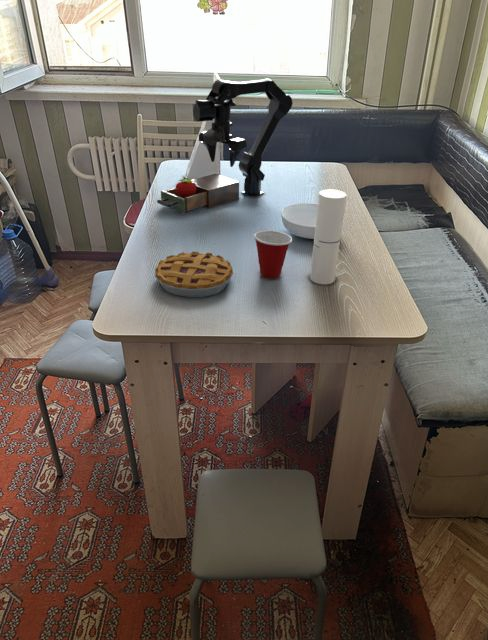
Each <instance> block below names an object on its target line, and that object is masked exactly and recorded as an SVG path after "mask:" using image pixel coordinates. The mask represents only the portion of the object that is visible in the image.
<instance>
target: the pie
mask: <svg viewBox="0 0 488 640" xmlns="http://www.w3.org/2000/svg"><path fill="white" fill-rule="evenodd" d="M233 269H234V268H233V265H231V262H230V261H229V260H226V259H225V258H224V257H223V256H222V255H220V254H218V255H214V254H213V252H206V253H201V252H198V251H192V252H190V253H186V252H184V251H183V252H180V253H178V254H177V255H173V254H171V255H167V257H166V259H162V260H160V261H159V262H158V265H156V267H155V270H154V278H155V279H156V280H157V281H158V282H159V284H160V285H161V286H162V288H163V289H164V291H166V292H167V293H169V294H173V295H174V296H181V297H188V298H202V297H203V298H204V297H209V296H213V295H217V294H219V293H220V292H221V291H223V290H224V289H225V287H226V286H227V284H228V283H229V282H230V281H231V279H232V277H233V275H234V274H235V273H234V270H233Z"/></svg>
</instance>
